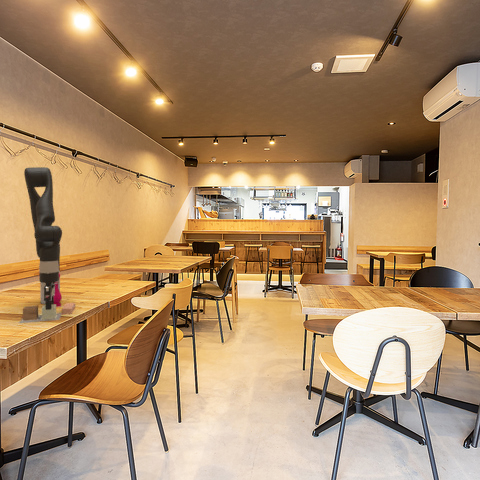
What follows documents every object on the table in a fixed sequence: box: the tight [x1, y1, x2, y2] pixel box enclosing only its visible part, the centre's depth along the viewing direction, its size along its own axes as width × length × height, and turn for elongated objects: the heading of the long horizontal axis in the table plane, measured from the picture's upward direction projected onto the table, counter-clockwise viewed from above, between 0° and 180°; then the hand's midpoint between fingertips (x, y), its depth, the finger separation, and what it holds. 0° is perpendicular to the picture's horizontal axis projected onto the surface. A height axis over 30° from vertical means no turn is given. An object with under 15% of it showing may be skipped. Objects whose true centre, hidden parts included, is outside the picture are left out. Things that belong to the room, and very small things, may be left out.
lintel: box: [61, 302, 76, 315], centre depth 161 cm, size 12×4×4 cm, turn 18°
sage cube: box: [41, 304, 57, 319], centre depth 150 cm, size 5×5×5 cm
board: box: [18, 312, 63, 324], centre depth 149 cm, size 12×15×1 cm
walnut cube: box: [22, 305, 39, 321], centre depth 147 cm, size 5×5×5 cm
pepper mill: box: [47, 272, 63, 308], centre depth 173 cm, size 7×7×20 cm
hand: (49, 307), depth 150 cm, fingers open, 8 cm apart
